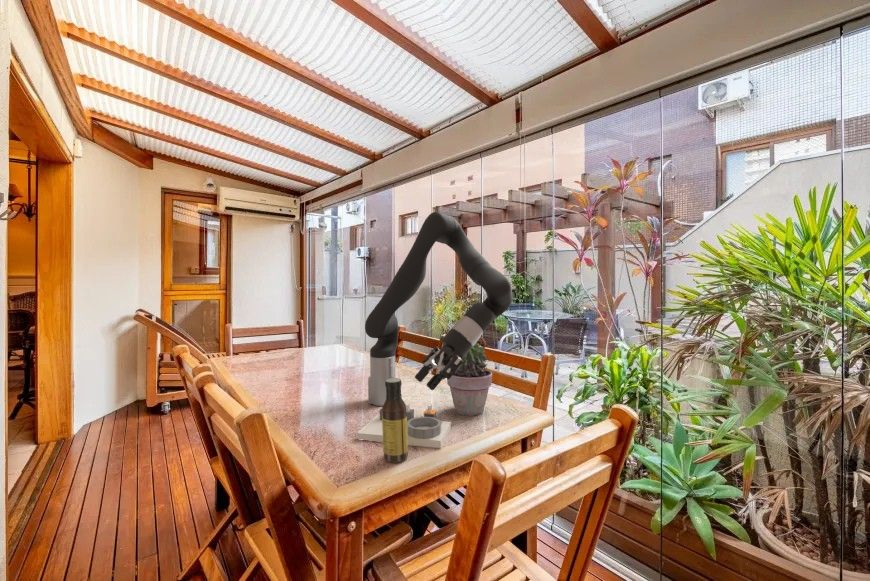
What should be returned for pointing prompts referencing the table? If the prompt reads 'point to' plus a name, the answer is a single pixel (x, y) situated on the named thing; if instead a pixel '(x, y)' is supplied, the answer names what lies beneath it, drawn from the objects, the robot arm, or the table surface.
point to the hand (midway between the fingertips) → (423, 383)
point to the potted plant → (471, 382)
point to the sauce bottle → (394, 423)
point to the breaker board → (378, 432)
